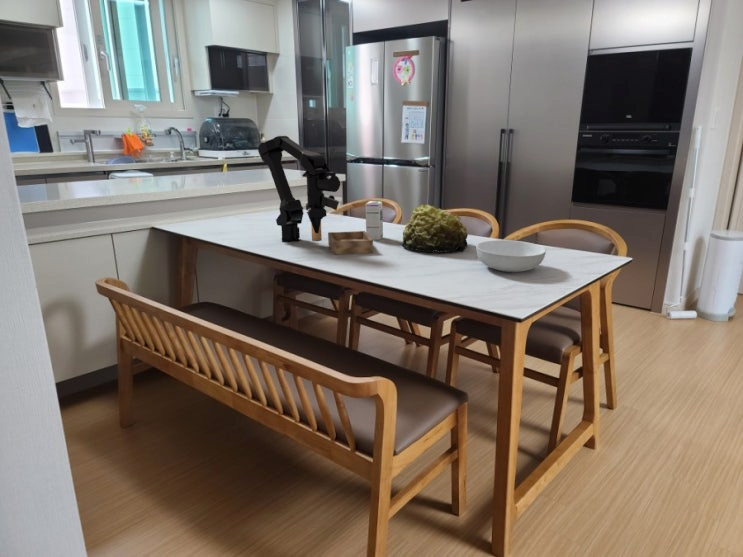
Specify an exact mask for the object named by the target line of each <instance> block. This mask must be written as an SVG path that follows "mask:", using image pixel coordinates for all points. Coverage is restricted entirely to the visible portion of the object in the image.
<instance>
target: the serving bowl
mask: <svg viewBox="0 0 743 557" xmlns="http://www.w3.org/2000/svg"><path fill="white" fill-rule="evenodd" d="M475 249H476V250H475V251H476V255H477V256H478V259H479V260H480V262H481V263H483V264H484V265H485V266H486V267H488V268H491V269H495V270H497V271H500V272H505V273H520V272H525V271H530V270H533V269H535V268H537V267H539V266H540V265H541V264H542V262H544V259H545V255H546V253H547V250H546V248H545V247H543V246H541V245H539V244H536V243H531V242H528V241H520V240H511V239H509V240H507V239H505V240H504V239H503V240H502V239H497V240H486V241H481V242H478V243H477V244H476V247H475Z"/></svg>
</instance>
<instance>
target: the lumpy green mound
mask: <svg viewBox="0 0 743 557" xmlns="http://www.w3.org/2000/svg"><path fill="white" fill-rule="evenodd" d="M461 219H462V218H461V217H460V216H459V215H458V214H456V215H455V216H454V215H453V213H452V212H451V211H450V210H449V211H448V210H445V209H442V208H440V207H439V208H437V207H435V206H433V205H429V204H425V205H424V204H419V205H418V206H417V207H415V208H414V209H413V211H412V215H411V217H410V220H409V221H408V223H407V224H406V226H405V227H404V230H403V231H402V235H403V236H402V243H401V246H402V248H404V247H405V248H406V250H412V251H413V252H415V251H419V252H423V253H424V252H425V253H431V254H432V252H438V253H439V254H440V253H444V252H446V253H448V254H449V252H451V251H452V252H453V251H458V249H459V250H460V251H462V253H463V252H465V250H466V249H467V247H468V242H467V238H468V236H469V234H468V232H467V227H466V226H465V225H463V223H462V220H461Z"/></svg>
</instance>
